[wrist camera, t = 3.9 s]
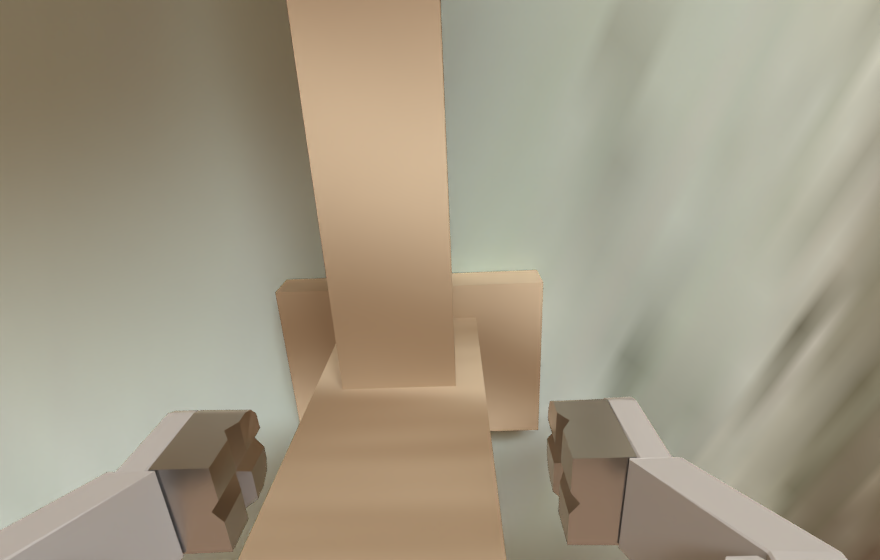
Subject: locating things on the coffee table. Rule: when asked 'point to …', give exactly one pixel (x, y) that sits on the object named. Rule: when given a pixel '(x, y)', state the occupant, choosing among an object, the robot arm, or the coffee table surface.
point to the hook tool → (391, 314)
